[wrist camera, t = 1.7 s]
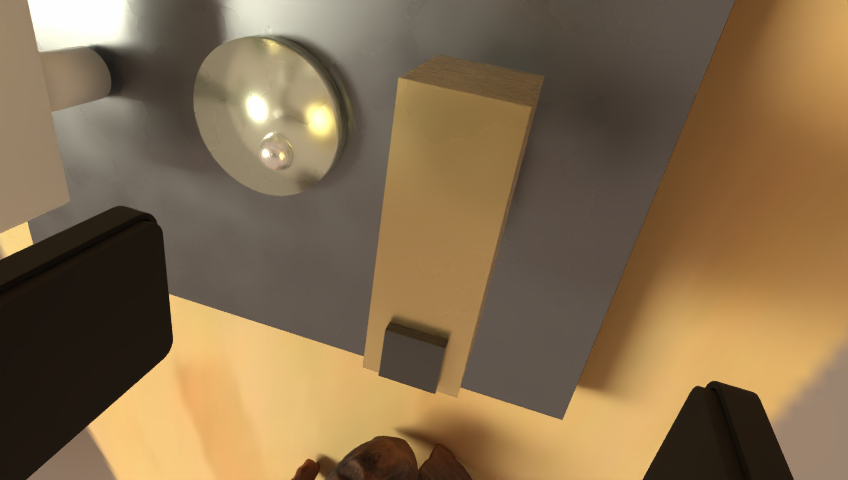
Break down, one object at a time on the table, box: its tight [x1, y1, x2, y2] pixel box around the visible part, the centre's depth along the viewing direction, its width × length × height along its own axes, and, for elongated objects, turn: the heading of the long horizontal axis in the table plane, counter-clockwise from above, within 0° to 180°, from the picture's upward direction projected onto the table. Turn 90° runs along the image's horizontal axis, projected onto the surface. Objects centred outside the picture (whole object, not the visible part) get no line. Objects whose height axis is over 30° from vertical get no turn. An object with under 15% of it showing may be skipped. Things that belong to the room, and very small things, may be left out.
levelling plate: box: [27, 0, 735, 420], centre depth 17 cm, size 18×24×4 cm
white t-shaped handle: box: [0, 0, 111, 233], centre depth 15 cm, size 7×2×6 cm, turn 171°
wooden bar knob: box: [363, 54, 544, 398], centre depth 13 cm, size 7×2×6 cm, turn 171°
